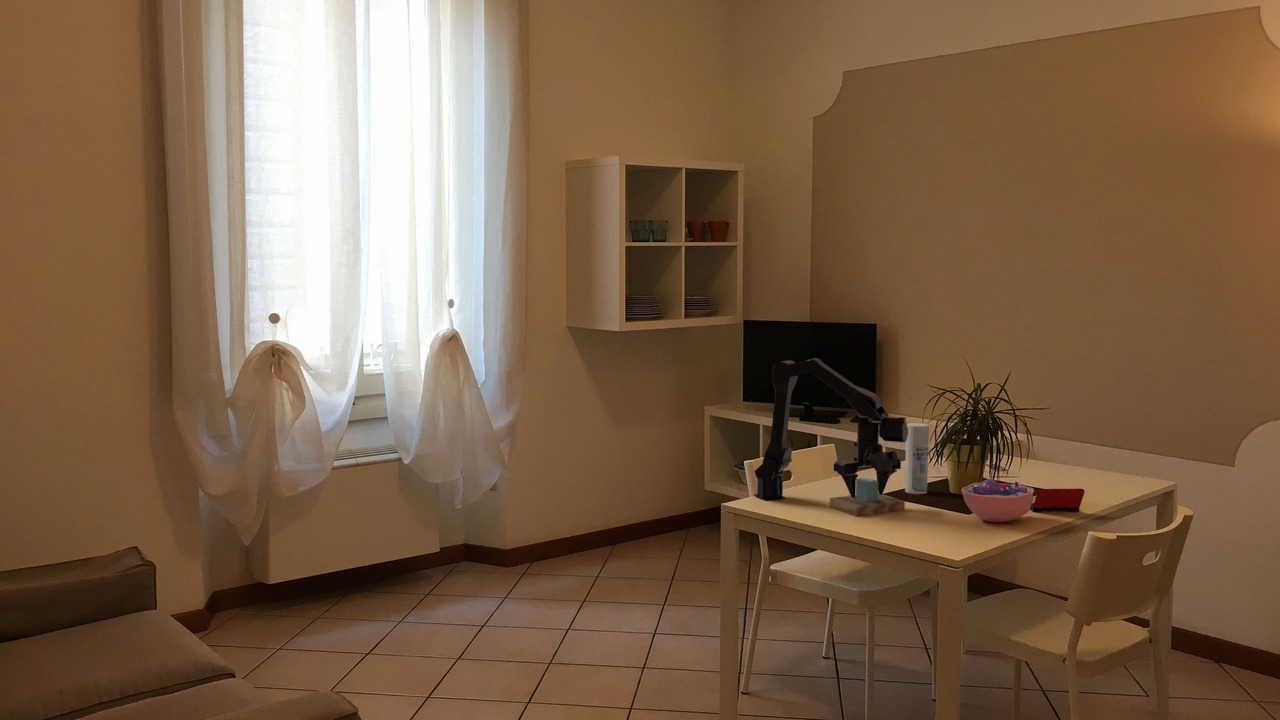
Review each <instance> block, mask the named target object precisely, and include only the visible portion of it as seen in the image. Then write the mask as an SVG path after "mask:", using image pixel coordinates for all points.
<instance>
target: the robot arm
mask: <svg viewBox="0 0 1280 720" xmlns="http://www.w3.org/2000/svg"><path fill="white" fill-rule="evenodd" d="M808 374H811V375H812V376H814V377H815V378H817V379H819V381H821V382H822V383H824V384H825V385H827V386H828V387H830V388H831V389H832V390H834V391H835V392H836V393H838V394H840V396H842V397H843V398H845V400H846V401H847V402H848V403H849V405H850V407H851V408H852V409H854V411H855V412H856V414H855V415H854V416H853V417H852V418H851V419H850V420H849V422H850V423H852V424H857V436H856V442H855V441H854V442H853V444H854V445H853V447H856V456H854V457H853V461H851V460H848V459H844V460H843V459H842V460H836V461H834V464H833V471H834V472H837V474H838V475H840V476H841V478H842V479H843V481H844V483H845V486H846V488H847V490H848V492H849V496H851V497H852V498H855V495H856V479H858V477H859V474H858V473H857V472H858V471H859V470H865V469H866V470H867V469H874V470H875V473H876V481H878V493H879V494H880V495H882V494H883V495H884V490H885V489H886V486H887V483H888V481H889V479H890V476H892V475H893V474H894V473H896V472H897V471H898V470H900V469H902V463H901V460H900V458H898V452H896V451H894V450H892V451H888V452H887V451H884V450H883V446H882V443H880V442H879V440H880V439H882V440H883V441H884V442H895V443H904V444H906V440H907V437H908V428H907V424H908V423H907V422H906V421H907V420H906V419H907V418H906V417H905V416H890V415H889V413H887V410H886V409H885V407H883V405H882V400H881V397H880V396H879V395H878V394H876V393H875V392H872V391H870V390H868V389H866V388H863V387H860V386H858V385H855V384H854V383H852V382H851V381H849V380H848V379H847V378H845V377H844V376H843V375H841V374H839V373H838V372H837V371H836V370H834V369H832V368H831V367H829V366H828V365H827V364H826V363H824V362H823V361H822V360H821V359H820V358H816V357H814V358H811V359H808V360H804V361H803V360H802V361H798V362H795V361H793V360H784V361H779V362H777V363H776V364H774V365H773V367H772V370H771V378H772V385H773V388H774V393H775V394H774V403H773V410H772V411H773V413H772V423H771V431H770V433H771V434H770V440H769V443H768V444H767V447H766V450H765V452H764V455H763V459H762V464H761V465H760V466H759V467H758V468H756V469H755V470H754V474H755V477H756V478H757V486H756V487H757V488H756V490H757V493H754V497H755V498H759V499H761V500H764V501H772V500H779V499H781V500H782V499H785V496H784V495H783V488H784V486H783V484H784V482H783V480H782V475H783V473H784V471H785V470H786V469H787V468H788V467H789V466H790V463H791V462H792V461H793V460H792V454H793V449H794V448H793V447H789V446H788V442H787V438H788V429H789V419H790V410H791V409H790V408H791V402H792V401H791V400H792V393H793V390H794V388H795V387H796V384H797V382H798V378H799V376H803V375H808ZM879 437H880V439H879Z"/></svg>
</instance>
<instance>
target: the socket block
mask: <svg viewBox="0 0 1280 720" xmlns="http://www.w3.org/2000/svg"><path fill="white" fill-rule="evenodd" d="M905 504H906V502H905V500H901V499H898V498H895V497H892V496H889V495H886V494H884V493H883V494H882V495H880V494H879V492H878V502H871V503H865V502H862V501H859V500H856V494H855V498H852V497H851V495H845V496H835V497H829V507H830V508H831V507H833V508H832V509H834V508H835V509H834V510H837V509H838V510H837V511H841V512H843V513H846V514H849V515H851V516H854V517H862V516H870V515H877V514H885V513H893V512H894V513H895V512H901V511H903V512H904V511H905V507H906V506H905Z"/></svg>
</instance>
